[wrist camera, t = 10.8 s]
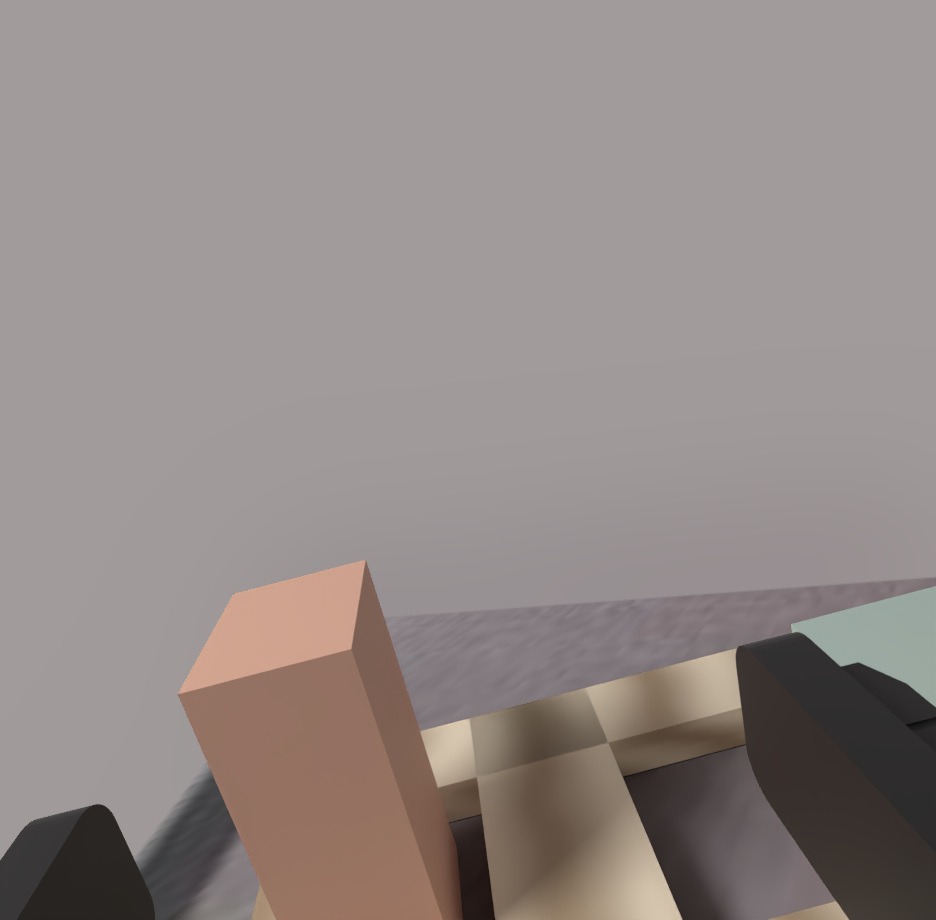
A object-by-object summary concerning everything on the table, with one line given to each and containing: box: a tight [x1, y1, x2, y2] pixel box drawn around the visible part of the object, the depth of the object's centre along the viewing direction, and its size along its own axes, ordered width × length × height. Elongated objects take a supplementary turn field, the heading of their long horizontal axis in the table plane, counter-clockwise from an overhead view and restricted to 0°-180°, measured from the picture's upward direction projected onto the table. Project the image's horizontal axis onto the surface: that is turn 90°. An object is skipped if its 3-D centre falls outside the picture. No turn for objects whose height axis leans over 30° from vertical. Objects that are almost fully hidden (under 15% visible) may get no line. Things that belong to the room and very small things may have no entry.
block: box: [178, 560, 463, 920], centre depth 23 cm, size 5×6×14 cm
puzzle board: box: [251, 648, 849, 920], centre depth 25 cm, size 32×17×2 cm, turn 95°
